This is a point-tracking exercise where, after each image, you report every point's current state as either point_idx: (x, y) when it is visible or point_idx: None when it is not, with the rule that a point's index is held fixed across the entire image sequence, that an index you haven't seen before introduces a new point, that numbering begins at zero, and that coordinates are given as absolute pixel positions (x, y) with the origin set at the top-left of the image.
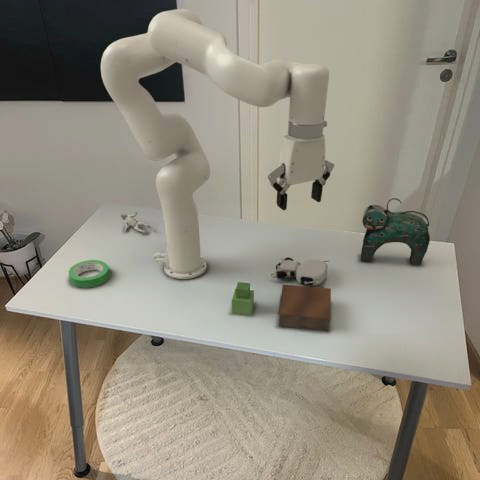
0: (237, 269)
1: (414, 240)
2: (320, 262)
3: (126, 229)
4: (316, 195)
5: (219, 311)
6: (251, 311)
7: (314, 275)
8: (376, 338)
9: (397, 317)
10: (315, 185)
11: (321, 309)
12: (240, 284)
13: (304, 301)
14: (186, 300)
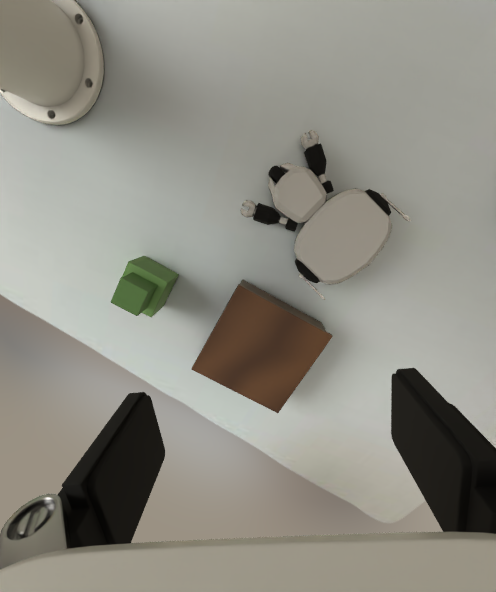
0: (182, 119)
1: None
2: (378, 224)
3: None
4: (409, 446)
5: (107, 273)
6: (163, 303)
7: (327, 276)
8: (341, 429)
9: None
10: (454, 491)
11: (274, 389)
12: (124, 289)
13: (255, 356)
14: (45, 212)
